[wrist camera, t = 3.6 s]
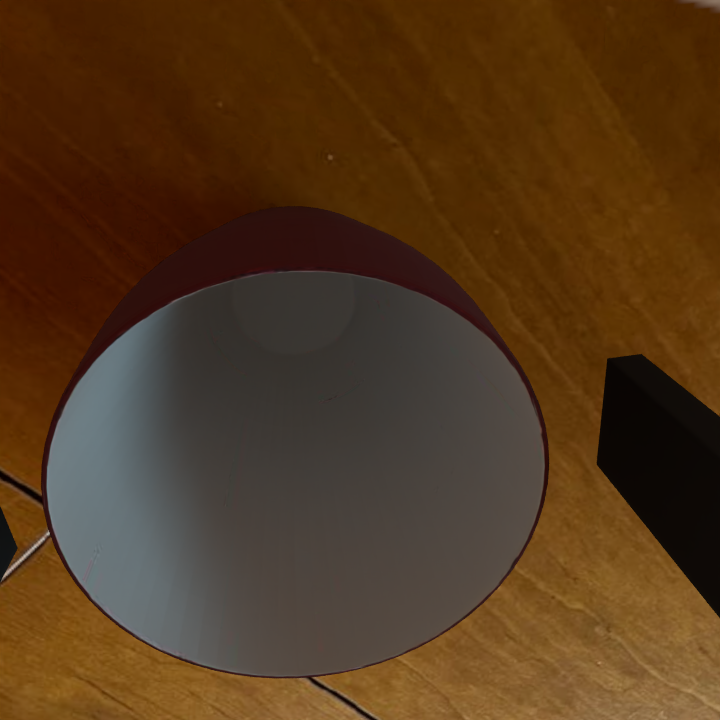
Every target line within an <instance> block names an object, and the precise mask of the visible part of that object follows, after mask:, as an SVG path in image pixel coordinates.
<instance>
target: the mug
mask: <svg viewBox="0 0 720 720" xmlns="http://www.w3.org/2000/svg"><path fill="white" fill-rule="evenodd" d="M548 473H549V450H548V439H547V433H546V427H545V422H544V419H543V416H542V412H541V409H540V405H539V403H538V400H537V398H536V396H535V393H534V391H533V389H532V386H531V384H530V382H529V380H528V378H527V376H526V375H525V373H524V371H523V369H522V368H521V366H520V364H519V362H518V361H517V360H516V358H515V357H514V355H513V354H512V352H511V351H510V350H509V348H508V347H507V345H506V344H505V342H504V341H503V339H502V338H501V337H500V335H499V334H498V332H497V331H496V330H495V328H494V327H493V326H492V324H491V323H490V322H489V320H488V319H487V318H486V316H485V315H484V314H483V312H482V311H481V310H480V309H479V307H478V306H477V305H476V303H475V302H474V301H473V300H472V299H471V297H470V296H469V295H468V294H467V293H466V292H465V291H464V290H463V289H462V288H461V287H460V286H459V284H458V283H456V282H455V281H454V280H453V279H452V278H451V277H450V276H449V275H448V274H447V273H446V272H445V271H443V270H442V269H441V268H440V267H439V266H438V265H436V264H435V263H434V262H433V261H431V260H430V259H428V258H427V257H426V256H424V255H423V254H421V253H420V252H418V251H417V250H415V249H414V248H413V247H411V246H409V245H407V244H405V243H404V242H402V241H400V240H398V239H396V238H395V237H393V236H391V235H389V234H387V233H384V232H382V231H380V230H377V229H375V228H372V227H370V226H368V225H365V224H363V223H361V222H358V221H356V220H354V219H351V218H349V217H346V216H344V215H341V214H338V213H335V212H332V211H328V210H323V209H318V208H311V207H301V206H287V207H276V208H270V209H265V210H260V211H256V212H253V213H250V214H246V215H244V216H241V217H239V218H237V219H234V220H232V221H230V222H228V223H226V224H224V225H222V226H221V227H219V228H217V229H215V230H213V231H211V232H209V233H207V234H205V235H203V236H201V237H200V238H198V239H196V240H194V241H192V242H190V243H188V244H187V245H185V246H184V247H182V248H181V249H179V250H178V251H176V252H175V253H173V254H172V255H170V256H169V257H167V258H166V259H164V260H163V261H162V262H161V263H160V264H158V265H157V266H156V267H155V268H154V269H153V270H151V271H150V272H149V273H148V274H147V275H145V276H144V277H143V278H142V279H141V280H140V281H139V282H138V283H137V284H136V285H135V286H134V287H133V289H132V290H131V291H130V292H129V293H128V294H127V295H126V296H125V297H124V298H123V300H122V301H121V302H120V303H119V304H118V306H117V307H116V308H115V310H114V311H113V312H112V314H111V315H110V316H109V318H108V319H107V320H106V322H105V323H104V325H103V326H102V328H101V330H100V331H99V333H98V334H97V336H96V337H95V339H94V340H93V342H92V344H91V345H90V347H89V349H88V351H87V352H86V354H85V356H84V357H83V359H82V361H81V362H80V364H79V366H78V368H77V370H76V371H75V373H74V375H73V377H72V378H71V380H70V382H69V384H68V386H67V387H66V389H65V391H64V393H63V395H62V397H61V399H60V401H59V404H58V406H57V408H56V411H55V413H54V415H53V418H52V421H51V425H50V428H49V432H48V435H47V438H46V442H45V447H44V454H43V460H42V474H41V490H42V500H43V509H44V513H45V517H46V522H47V526H48V530H49V532H50V535H51V538H52V541H53V543H54V546H55V549H56V551H57V553H58V555H59V556H60V558H61V560H62V562H63V564H64V566H65V568H66V569H67V571H68V572H69V574H70V576H71V577H72V579H73V580H74V582H75V583H76V584H77V586H78V587H79V588H80V589H81V591H82V592H83V593H84V594H85V595H86V597H87V598H88V599H89V600H90V601H91V602H92V603H93V604H94V605H95V606H96V607H97V608H98V609H99V610H100V611H101V612H102V613H103V614H104V615H105V616H107V617H108V618H109V619H110V620H111V621H113V622H114V623H115V624H116V625H118V626H119V627H120V628H122V629H123V630H125V631H126V632H128V633H129V634H131V635H132V636H133V637H135V638H136V639H138V640H140V641H142V642H144V643H145V644H147V645H149V646H151V647H153V648H154V649H156V650H159V651H161V652H163V653H165V654H167V655H170V656H172V657H174V658H177V659H179V660H182V661H185V662H188V663H190V664H193V665H197V666H200V667H204V668H207V669H211V670H215V671H220V672H225V673H230V674H235V675H243V676H250V677H262V678H305V677H318V676H325V675H332V674H339V673H343V672H348V671H353V670H357V669H361V668H365V667H368V666H372V665H375V664H379V663H382V662H384V661H387V660H390V659H393V658H395V657H398V656H400V655H403V654H405V653H407V652H409V651H412V650H414V649H416V648H418V647H420V646H422V645H424V644H426V643H428V642H430V641H431V640H433V639H435V638H437V637H438V636H440V635H442V634H443V633H445V632H446V631H448V630H450V629H451V628H453V627H454V626H455V625H457V624H458V623H459V622H461V621H462V620H463V619H465V618H466V617H467V616H469V615H470V614H471V613H472V612H473V611H475V610H476V609H477V608H478V607H479V606H480V605H481V604H483V603H484V602H485V601H486V600H487V599H488V598H489V597H490V596H491V595H492V594H493V592H494V591H495V590H496V589H497V588H498V587H499V586H500V585H501V584H502V582H503V581H504V580H505V579H506V577H507V576H508V575H509V574H510V573H511V571H512V570H513V568H514V567H515V565H516V564H517V562H518V561H519V559H520V558H521V556H522V555H523V553H524V551H525V549H526V547H527V545H528V543H529V542H530V540H531V538H532V535H533V533H534V531H535V528H536V526H537V523H538V521H539V518H540V514H541V511H542V508H543V505H544V501H545V495H546V490H547V485H548Z"/></svg>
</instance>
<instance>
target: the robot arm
mask: <svg viewBox="0 0 720 720" xmlns="http://www.w3.org/2000/svg"><path fill="white" fill-rule="evenodd" d="M597 465H598V467H599V468H600V469H601V470H602V472H603V473H604V474H605V475H606V477H607V478H608V479H609V480H610V482H611V483H612V484H613V485H614V487H615V488H616V489H617V490H618V492H619V493H620V494H621V495H622V497H623V498H624V499H625V500H626V502H627V503H628V504H629V505H630V507H631V508H632V509H633V510H634V512H635V513H636V514H637V515H638V517H639V518H640V519H641V520H642V522H643V523H644V524H645V525H646V527H647V528H648V529H649V530H650V532H651V533H652V534H653V535H654V537H655V538H656V539H657V540H658V542H659V543H660V544H661V545H662V547H663V548H664V549H665V550H666V552H667V553H668V554H669V555H670V557H671V558H672V559H673V560H674V562H675V563H676V564H677V565H678V567H679V568H680V569H681V570H682V572H683V573H684V574H685V575H686V577H687V578H688V579H689V580H690V582H691V583H692V584H693V585H694V587H695V588H696V589H697V590H698V591H699V593H700V594H701V595H702V596H703V598H704V599H705V600H706V601H707V603H708V604H709V605H710V606H711V608H712V609H713V610H714V611H715V613H716V614H717V615H718V616H719V618H720V417H719V416H718V415H717V414H716V413H714V412H713V411H712V410H711V409H709V408H708V407H707V406H706V405H704V404H703V403H702V402H701V401H699V400H698V399H697V398H696V397H694V396H693V395H692V394H691V393H689V392H688V391H687V390H686V389H684V388H683V387H682V386H681V385H679V384H678V383H677V382H676V381H674V380H673V379H672V378H671V377H669V376H668V375H667V374H666V373H664V372H663V371H662V370H661V369H659V368H658V367H657V366H656V365H654V364H653V363H652V362H651V361H649V360H648V359H647V358H646V357H644V356H643V355H642V354H638V355H631V356H623V357H616V358H608V359H607V367H606V377H605V387H604V397H603V407H602V416H601V426H600V436H599V446H598V456H597ZM17 549H18V548H17V546H16V543H15V541H14V538H13V536H12V533H11V531H10V529H9V526H8V524H7V521H6V519H5V516H4V514H3V512H2V509H1V507H0V582H1V580H2V578H3V576H4V574H5V572H6V570H7V568H8V566H9V564H10V562H11V560H12V558H13V556H14V554H15V552H16V551H17Z"/></svg>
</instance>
